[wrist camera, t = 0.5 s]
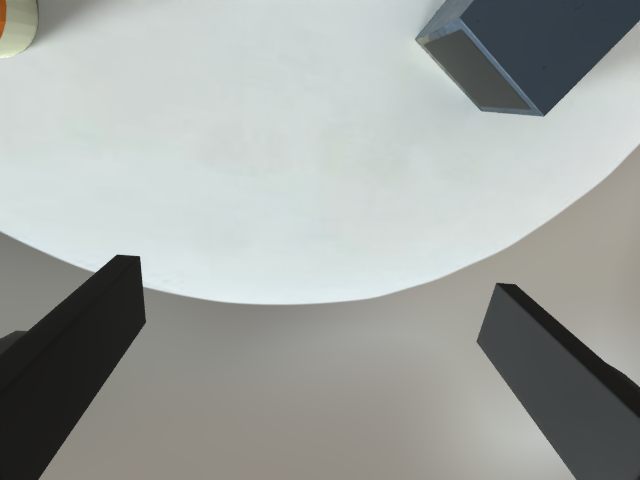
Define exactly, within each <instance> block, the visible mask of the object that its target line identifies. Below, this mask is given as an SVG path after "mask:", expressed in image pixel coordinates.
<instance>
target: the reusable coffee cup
mask: <svg viewBox="0 0 640 480" xmlns="http://www.w3.org/2000/svg"><path fill="white" fill-rule="evenodd" d="M37 26H38V10H37V3H36V0H0V58H5V57H10V56H14V55H17V54H18V53H20V52H22V51H24V50H25V49H26V48H27V47H28V46H29V45H30V43H31V42H32V40H33V38H34V37H35V33H36V30H37Z"/></svg>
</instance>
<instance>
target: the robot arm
mask: <svg viewBox="0 0 640 480" xmlns="http://www.w3.org/2000/svg"><path fill="white" fill-rule="evenodd" d="M144 308H145V307H144V296H143V284H142V273H141V262H140V256H129V255H116V256H115V257H114V258H113V259H111V260H110V261H109V262H108V263H107V264H106V265H104V266H103V267H102V268H101V269H100V270H99V271H97V272H96V273H95V274H94V275H93V276H92V277H90V278H89V279H88V280H87V281H86V282H85V283H84V284H82V285H81V286H80V287H79V288H78V289H76V290H75V291H74V292H73V293H72V294H71V295H70V296H68V297H67V298H66V299H65V300H64V301H62V302H61V303H60V304H59V305H58V306H57V307H55V308H54V309H53V310H52V311H51V312H50V313H49V314H47V315H46V316H45V317H44V318H43V319H42V320H40V321H39V322H38V323H37V324H36V325H35V326H33V327H32V328H31V329H30V330H29V331H15V332H13V333H11V334H9V335H7V336H5V337H3V338H1V339H0V480H38V479H39V478H40V476H41V475H42V473H43V472H44V470H45V469H46V467H47V466H48V465H49V463H50V461H51V460H52V459H53V457H54V456H55V454H56V453H57V451H58V450H59V449H60V447H61V446H62V444H63V443H64V441H65V440H66V438H67V437H68V435H69V434H70V432H71V431H72V430H73V428H74V426H75V425H76V424H77V422H78V421H79V419H80V418H81V416H82V415H83V413H84V412H85V410H86V409H87V408H88V406H89V405H90V403H91V402H92V400H93V399H94V397H95V396H96V394H97V393H98V392H99V390H100V389H101V387H102V386H103V384H104V383H105V381H106V380H107V378H108V377H109V376H110V374H111V373H112V371H113V370H114V368H115V367H116V365H117V364H118V362H119V361H120V359H121V358H122V357H123V355H124V354H125V352H126V351H127V349H128V348H129V346H130V345H131V343H132V342H133V340H134V339H135V338H136V336H137V335H138V333H139V332H140V330H141V329H142V327H143V326H144V324H145V323H146V319H145V309H144ZM477 343H478V344H479V346H480V347H481V348H482V350H483V351H484V352H485V354H486V355H487V357H488V358H489V359H490V361H491V362H492V364H493V365H494V366H495V368H496V369H497V371H498V372H499V373H500V375H501V376H502V377H503V379H504V380H505V382H506V383H507V384H508V386H509V387H510V389H511V390H512V391H513V393H514V394H515V395H516V397H517V398H518V400H519V401H520V402H521V404H522V405H523V406H524V408H525V409H526V411H527V412H528V413H529V415H530V416H531V417H532V419H533V420H534V422H535V423H536V424H537V426H538V427H539V429H540V430H541V431H542V433H543V434H544V435H545V437H546V438H547V440H548V441H549V442H550V444H551V445H552V446H553V448H554V449H555V451H556V452H557V453H558V455H559V456H560V458H561V459H562V460H563V462H564V463H565V464H566V466H567V467H568V469H569V470H570V471H571V473H572V474H573V475H574V477H575V478H576V480H640V387H639V386H638V385H636V384H635V383H634V382H633V381H632V380H630V378H628V377H627V376H626V375H625V374H623V373H622V372H620V371H618V370H617V369H615V368H614V367H612V366H610V365H609V364H607V363H605V362H604V361H603V360H602V359H601V358H599V357H598V356H597V355H596V354H595V353H594V352H593V351H592V350H590V349H589V348H588V347H587V346H586V345H585V344H583V343H582V342H581V341H580V340H579V339H578V338H577V337H575V336H574V335H573V334H572V333H571V332H570V331H568V330H567V329H566V328H565V327H564V326H563V325H562V324H560V323H559V322H558V321H557V320H556V319H554V318H553V317H552V316H551V315H550V314H549V313H548V312H547V311H545V310H544V309H543V308H542V307H541V306H539V305H538V304H537V303H536V302H535V301H534V300H533V299H532V298H530V297H529V296H528V295H527V294H526V293H525V292H523V291H522V290H521V289H520V288H519V287H518V286H517V285H515V284H504V283H496V286H495V289H494V291H493V295H492V297H491V300H490V303H489V306H488V309H487V312H486V315H485V318H484V321H483V324H482V327H481V330H480V333H479V336H478V339H477Z"/></svg>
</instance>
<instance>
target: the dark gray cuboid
mask: <svg viewBox="0 0 640 480" xmlns="http://www.w3.org/2000/svg"><path fill="white" fill-rule="evenodd" d="M639 20H640V0H447V1H446V2H445V3H444V4H443V6H442V7H441V8H440V9H439V10H438V12H437V13H436V14H435V15H434V17H433V18H432V19H431V20H430V21H429V23H428V24H427V25H426V26H425V28H424V29H423V30H422V31H421V32H420V34H419V35H418V36H417V37H416V39H415V40H416V41H417V42H418V44H419V45H420V46H421V47H422V48H423V49H424V50H425V51H426V52H427V53H428V54H429V55H430V56H431V57H432V59H433V60H434V61H435V62H436V63H437V64H438V65H439V66H440V67H441V68H442V69H443V70H444V71H445V73H446V74H447V75H448V76H449V77H450V78H451V79H452V80H453V81H454V82H455V83H456V84H457V85H458V86H459V88H460V89H461V90H462V91H463V92H464V93H465V94H466V95H467V96H468V97H469V98H470V99H471V100H472V102H473V103H474V104H475V105H476V106H477V107H478V108H479V109H480V110H481V111H485V112H497V113H509V114H520V115H532V116H543V117H544V116H545V115H546V114H547V113H548V112H549V111H550V110H551V109H552V108H553V107H554V106H555V105H556V104H557V103H558V102H559V101H560V100H561V99H562V98H563V97H564V96H565V95H566V94H567V93H568V92H569V91H570V90H571V89H572V88H573V87H574V86H575V85H576V84H577V83H578V82H579V81H580V80H581V79H582V78H583V77H584V76H585V75H586V74H587V73H588V72H589V71H590V70H591V69H592V68H593V67H594V66H595V65H596V64H597V63H598V62H599V61H600V60H601V59H602V58H603V57H604V56H605V55H606V54H607V53H608V52H609V51H610V50H611V49H612V48H613V47H614V46H615V45H616V44H617V43H618V42H619V41H620V40H621V39H622V38H623V37H624V36H625V35H626V34H627V33H628V32H629V31H630V30H631V29H632V28H633V27H634V26H635V25H636V24H637V23H638V22H639Z"/></svg>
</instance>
